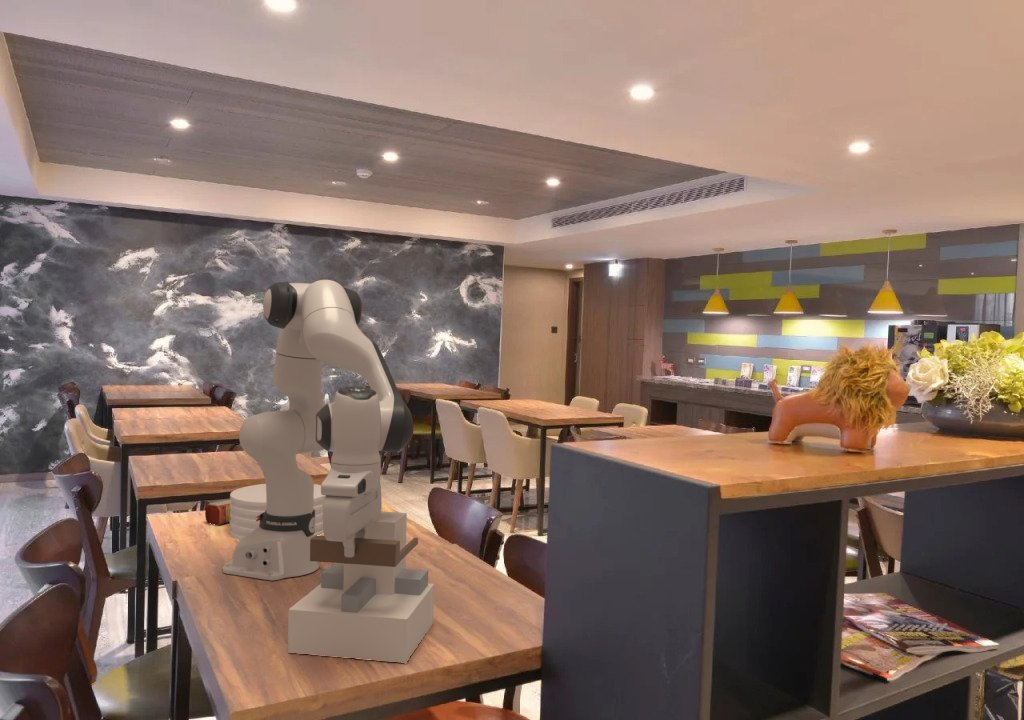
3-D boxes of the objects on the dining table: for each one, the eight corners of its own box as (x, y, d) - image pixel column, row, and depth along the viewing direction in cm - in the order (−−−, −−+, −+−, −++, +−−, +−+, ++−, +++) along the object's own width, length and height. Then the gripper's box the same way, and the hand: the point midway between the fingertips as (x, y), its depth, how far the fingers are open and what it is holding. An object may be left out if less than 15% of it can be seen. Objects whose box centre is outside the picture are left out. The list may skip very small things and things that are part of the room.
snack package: (258, 510, 238) (258, 490, 238) (273, 513, 235) (273, 492, 235) (203, 524, 220) (203, 502, 219) (218, 527, 216) (219, 505, 216)
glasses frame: (309, 561, 133) (310, 539, 133) (341, 538, 148) (341, 519, 148) (395, 566, 130) (395, 544, 130) (418, 543, 145) (418, 523, 145)
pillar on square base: (287, 653, 132) (289, 532, 131) (329, 614, 151) (331, 508, 150) (406, 664, 129) (408, 540, 128) (433, 623, 147) (435, 514, 147)
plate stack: (326, 516, 233) (326, 480, 232) (333, 540, 206) (334, 499, 206) (231, 521, 224) (232, 484, 223) (227, 547, 197) (227, 504, 197)
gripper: (359, 466, 143) (357, 536, 143) (316, 487, 123) (315, 568, 123) (390, 468, 142) (388, 538, 143) (352, 489, 122) (350, 571, 122)
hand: (354, 553), depth 133 cm, fingers closed on glasses frame, 3 cm apart
